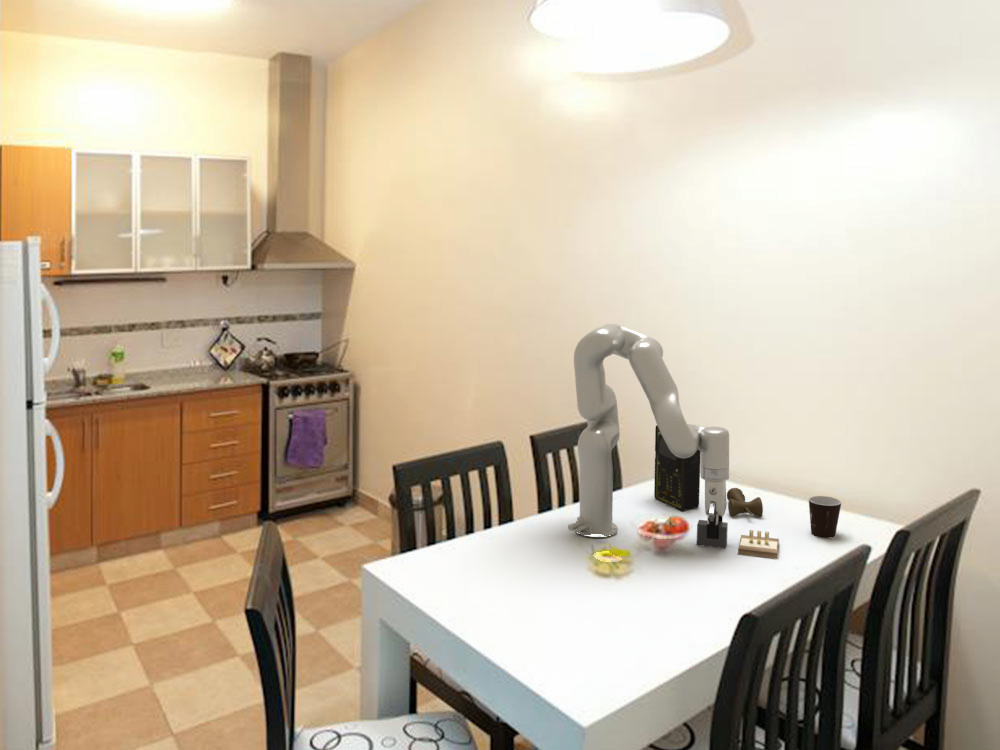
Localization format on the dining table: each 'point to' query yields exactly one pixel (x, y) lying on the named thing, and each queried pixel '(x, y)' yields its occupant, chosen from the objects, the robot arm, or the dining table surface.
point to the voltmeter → (676, 476)
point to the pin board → (758, 545)
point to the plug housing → (706, 541)
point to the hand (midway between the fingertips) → (714, 532)
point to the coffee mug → (824, 515)
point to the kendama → (743, 504)
